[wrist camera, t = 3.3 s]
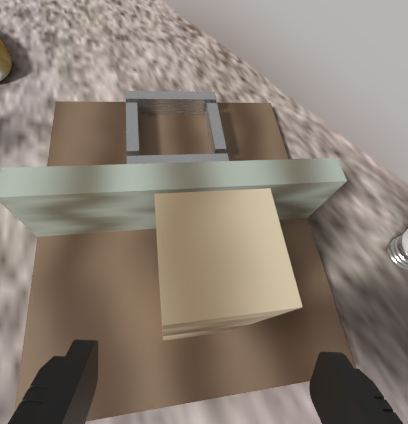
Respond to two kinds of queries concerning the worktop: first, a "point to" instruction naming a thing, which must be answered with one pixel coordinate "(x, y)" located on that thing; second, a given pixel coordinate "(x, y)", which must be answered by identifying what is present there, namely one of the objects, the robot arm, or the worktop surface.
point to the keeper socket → (174, 106)
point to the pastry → (4, 61)
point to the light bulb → (399, 250)
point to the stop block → (221, 261)
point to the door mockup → (148, 255)
